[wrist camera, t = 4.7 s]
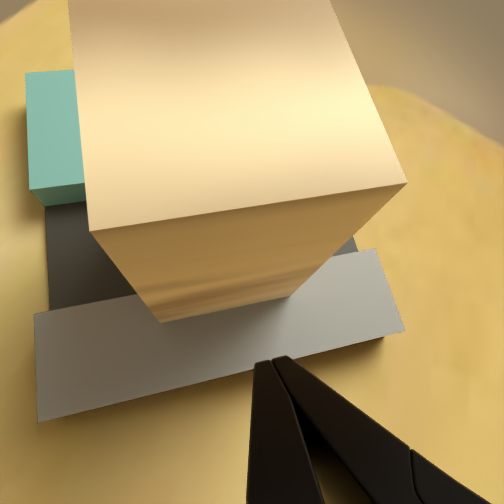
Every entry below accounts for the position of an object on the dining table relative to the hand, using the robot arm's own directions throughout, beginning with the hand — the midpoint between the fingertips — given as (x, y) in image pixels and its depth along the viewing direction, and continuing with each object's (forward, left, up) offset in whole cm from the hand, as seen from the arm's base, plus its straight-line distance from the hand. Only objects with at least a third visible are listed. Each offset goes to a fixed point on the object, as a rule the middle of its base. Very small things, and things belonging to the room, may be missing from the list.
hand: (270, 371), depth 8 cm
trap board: (+1, +9, -9) cm, 12 cm away
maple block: (+1, +6, -7) cm, 9 cm away
